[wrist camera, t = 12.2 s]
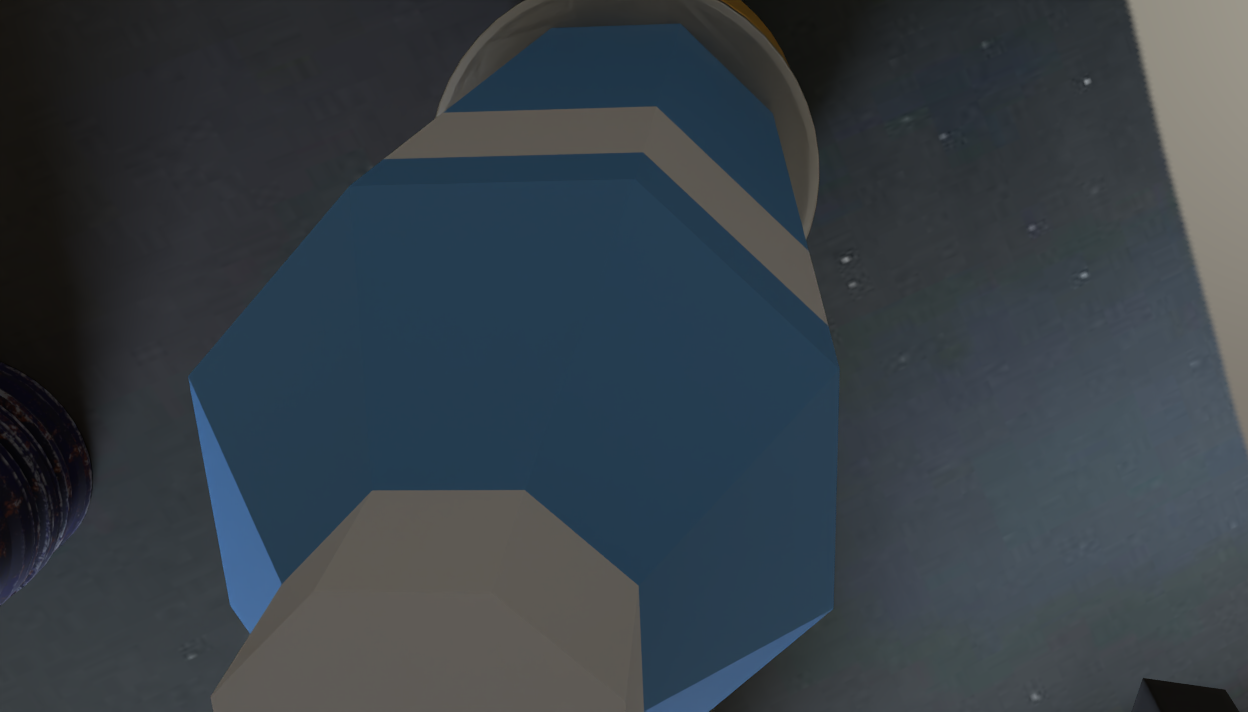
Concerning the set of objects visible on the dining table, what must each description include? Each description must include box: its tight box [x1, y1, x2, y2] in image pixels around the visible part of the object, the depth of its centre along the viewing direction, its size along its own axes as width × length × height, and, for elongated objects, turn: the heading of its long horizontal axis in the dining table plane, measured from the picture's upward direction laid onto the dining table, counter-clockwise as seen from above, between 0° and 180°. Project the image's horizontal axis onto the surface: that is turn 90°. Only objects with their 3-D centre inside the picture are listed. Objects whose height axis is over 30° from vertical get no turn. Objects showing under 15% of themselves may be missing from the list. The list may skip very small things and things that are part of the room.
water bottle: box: [188, 24, 840, 712], centre depth 23 cm, size 9×9×25 cm
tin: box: [435, 0, 819, 240], centre depth 39 cm, size 11×11×9 cm
